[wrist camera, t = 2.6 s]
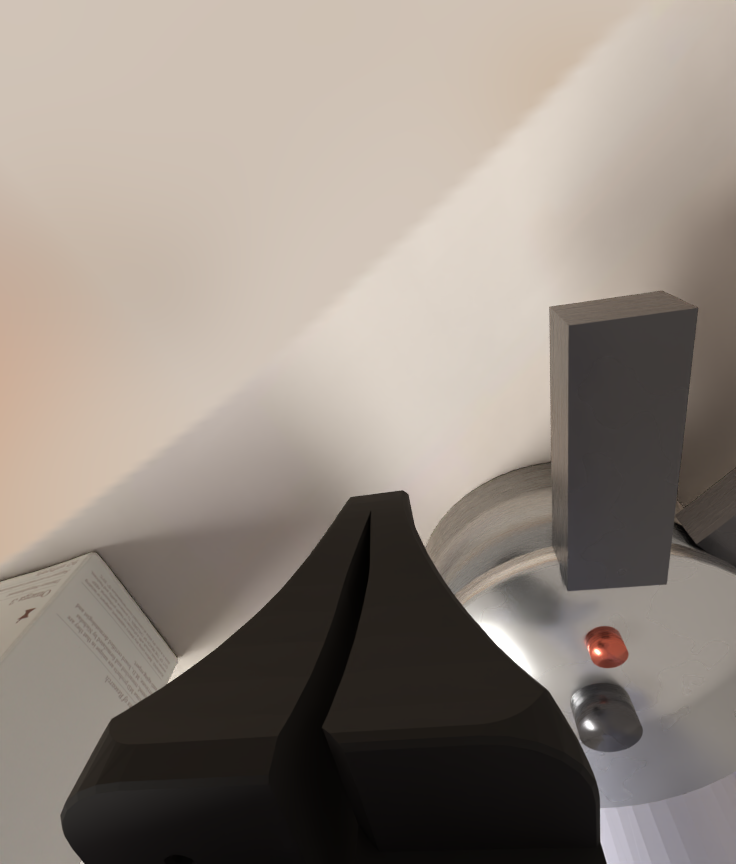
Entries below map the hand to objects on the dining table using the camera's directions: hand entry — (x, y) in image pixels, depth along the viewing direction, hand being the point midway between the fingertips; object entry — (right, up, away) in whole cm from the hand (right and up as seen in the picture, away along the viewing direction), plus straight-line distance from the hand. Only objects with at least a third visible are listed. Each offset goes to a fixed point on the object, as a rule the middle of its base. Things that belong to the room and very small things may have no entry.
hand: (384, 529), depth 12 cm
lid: (+6, -3, +3) cm, 8 cm away
